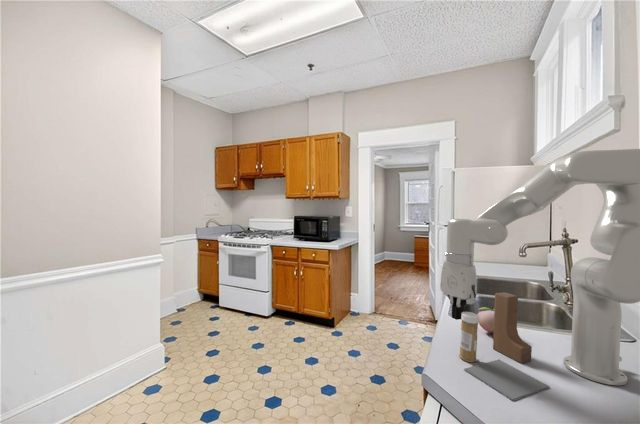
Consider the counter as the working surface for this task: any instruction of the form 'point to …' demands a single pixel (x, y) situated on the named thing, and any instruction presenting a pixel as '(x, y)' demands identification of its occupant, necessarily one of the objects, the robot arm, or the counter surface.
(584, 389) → the counter surface
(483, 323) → the decorative fruit
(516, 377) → the mat
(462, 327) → the sprinkles bottle
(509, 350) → the wooden block
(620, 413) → the counter surface
